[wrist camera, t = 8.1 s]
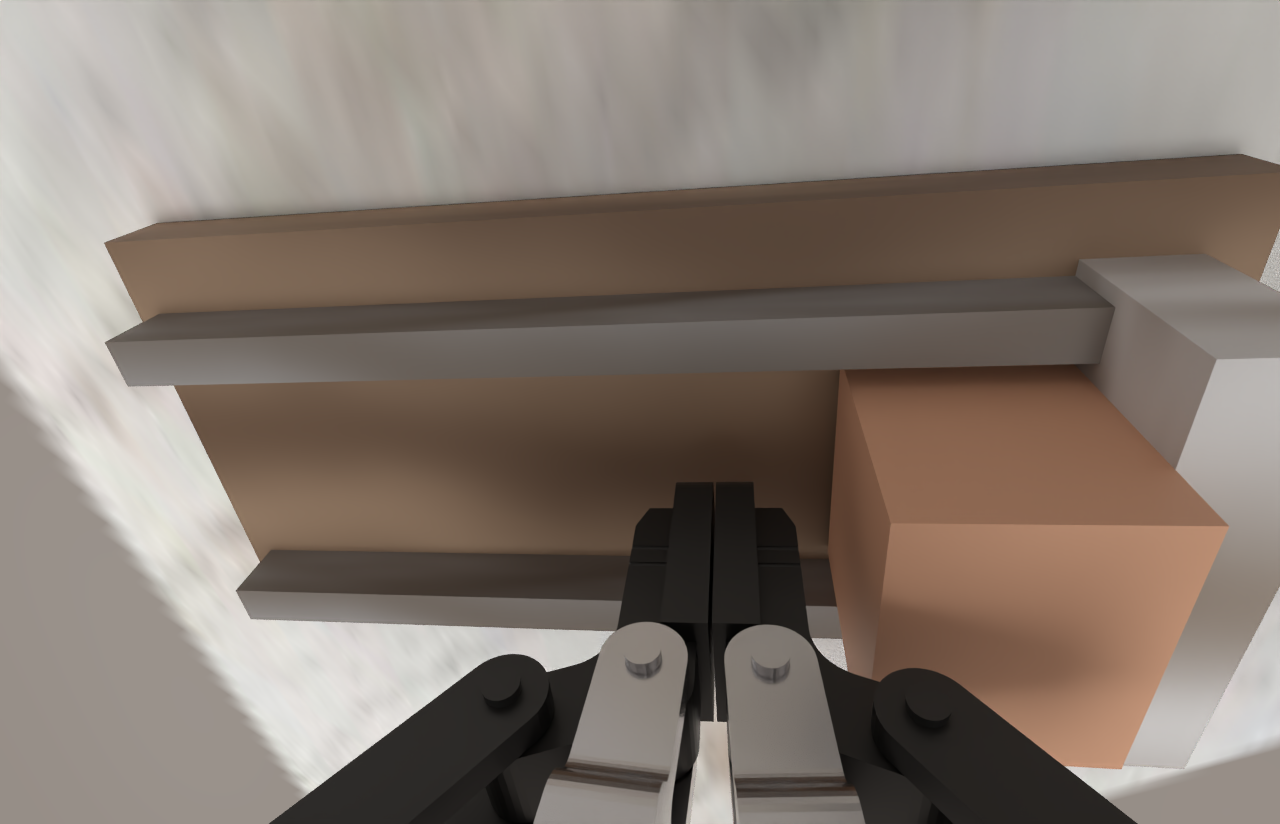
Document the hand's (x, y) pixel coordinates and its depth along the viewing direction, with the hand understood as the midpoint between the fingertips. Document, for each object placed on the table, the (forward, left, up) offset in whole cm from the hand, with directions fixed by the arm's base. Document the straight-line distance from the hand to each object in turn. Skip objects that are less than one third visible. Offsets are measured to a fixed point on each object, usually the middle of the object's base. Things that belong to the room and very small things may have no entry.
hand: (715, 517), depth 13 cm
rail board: (0, -1, -4) cm, 4 cm away
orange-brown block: (0, +4, -2) cm, 5 cm away
